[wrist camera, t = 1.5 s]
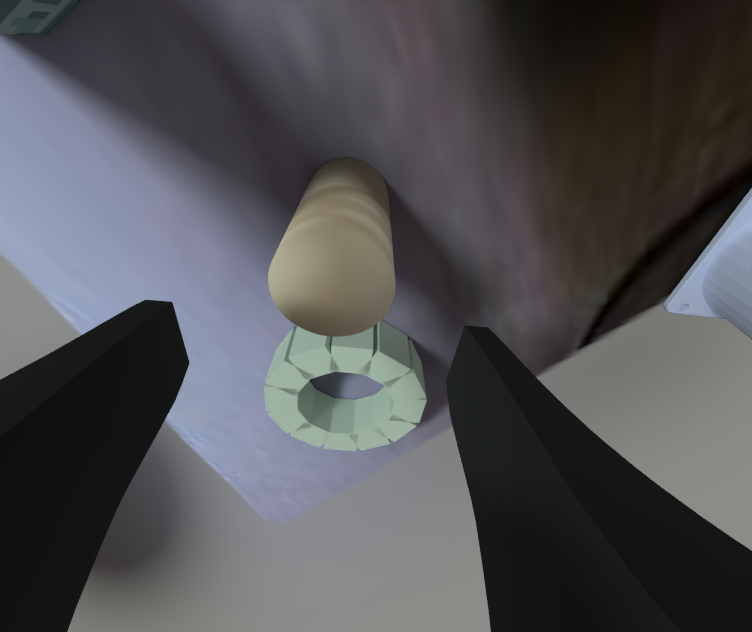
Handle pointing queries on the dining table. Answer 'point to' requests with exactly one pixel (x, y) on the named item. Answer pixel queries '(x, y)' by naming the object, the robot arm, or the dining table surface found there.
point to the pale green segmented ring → (346, 416)
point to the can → (32, 15)
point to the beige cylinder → (337, 253)
